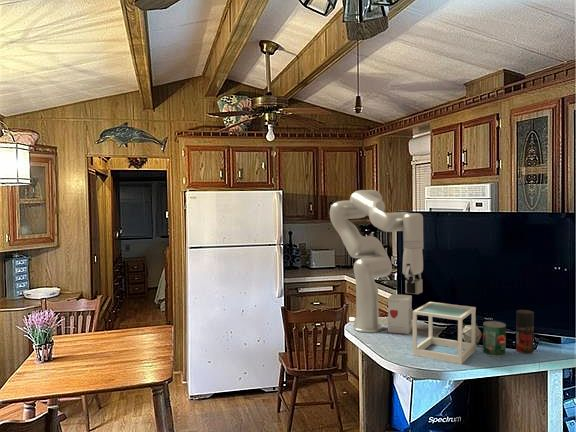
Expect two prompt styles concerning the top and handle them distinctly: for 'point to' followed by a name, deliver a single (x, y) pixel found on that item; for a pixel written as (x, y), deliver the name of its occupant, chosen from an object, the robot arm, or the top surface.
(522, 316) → the deodorant
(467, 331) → the game die
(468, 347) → the frame
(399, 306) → the supplement box
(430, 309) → the trapdoor
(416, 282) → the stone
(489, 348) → the canned tomato
